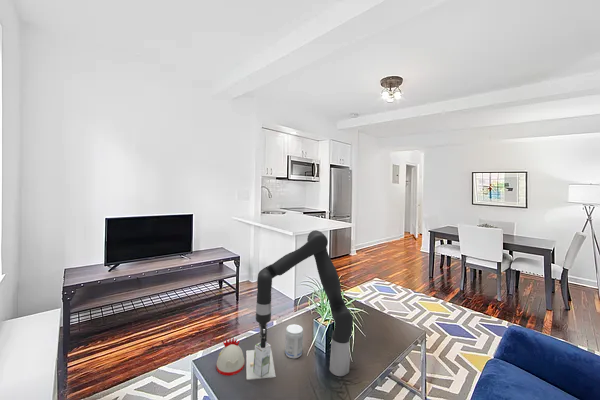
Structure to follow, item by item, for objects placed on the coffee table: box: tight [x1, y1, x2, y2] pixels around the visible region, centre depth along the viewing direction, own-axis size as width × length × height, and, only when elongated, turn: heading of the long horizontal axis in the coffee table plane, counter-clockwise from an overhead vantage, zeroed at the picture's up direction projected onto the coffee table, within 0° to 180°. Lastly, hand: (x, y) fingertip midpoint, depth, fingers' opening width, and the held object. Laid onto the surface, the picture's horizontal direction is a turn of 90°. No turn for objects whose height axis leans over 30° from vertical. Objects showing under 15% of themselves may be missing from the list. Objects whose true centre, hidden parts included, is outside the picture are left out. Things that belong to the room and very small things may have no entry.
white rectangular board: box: [245, 349, 277, 381], centre depth 141 cm, size 14×22×1 cm, turn 12°
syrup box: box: [253, 341, 272, 377], centre depth 134 cm, size 6×6×14 cm
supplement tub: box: [284, 323, 304, 359], centre depth 151 cm, size 10×10×15 cm
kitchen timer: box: [216, 337, 245, 377], centre depth 138 cm, size 14×14×15 cm
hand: (262, 342), depth 134 cm, fingers open, 8 cm apart
